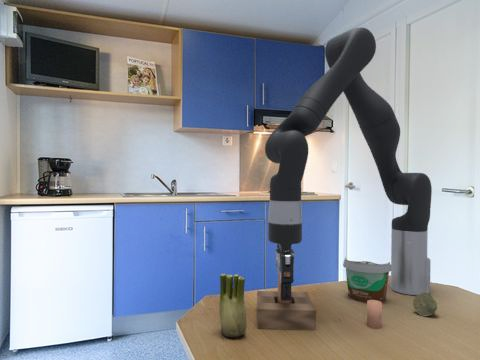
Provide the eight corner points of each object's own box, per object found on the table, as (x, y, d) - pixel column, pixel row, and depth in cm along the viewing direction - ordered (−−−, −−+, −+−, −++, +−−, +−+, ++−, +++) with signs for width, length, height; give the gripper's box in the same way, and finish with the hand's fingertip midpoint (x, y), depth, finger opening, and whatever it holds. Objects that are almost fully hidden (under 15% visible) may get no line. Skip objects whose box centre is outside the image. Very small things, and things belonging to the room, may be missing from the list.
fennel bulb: (215, 331, 73) (216, 272, 73) (237, 326, 75) (237, 269, 75) (228, 342, 68) (229, 279, 68) (250, 337, 70) (251, 276, 70)
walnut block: (306, 308, 86) (307, 292, 86) (315, 329, 74) (315, 310, 74) (257, 307, 86) (257, 290, 86) (257, 328, 74) (258, 309, 74)
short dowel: (378, 322, 78) (379, 299, 78) (383, 328, 75) (384, 304, 75) (365, 322, 78) (365, 299, 78) (369, 328, 75) (369, 304, 75)
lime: (439, 319, 80) (440, 297, 80) (416, 317, 81) (416, 295, 81) (433, 312, 84) (433, 291, 84) (411, 310, 85) (411, 289, 85)
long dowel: (290, 315, 81) (290, 271, 81) (291, 320, 78) (292, 275, 78) (277, 314, 82) (277, 271, 82) (277, 319, 79) (278, 274, 79)
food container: (338, 299, 92) (338, 261, 92) (343, 293, 98) (343, 256, 98) (389, 308, 86) (389, 267, 86) (391, 300, 92) (392, 262, 92)
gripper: (306, 225, 72) (305, 306, 73) (297, 217, 87) (297, 285, 87) (269, 224, 73) (269, 306, 73) (267, 217, 87) (266, 285, 87)
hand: (284, 294), depth 80 cm, fingers open, 6 cm apart
